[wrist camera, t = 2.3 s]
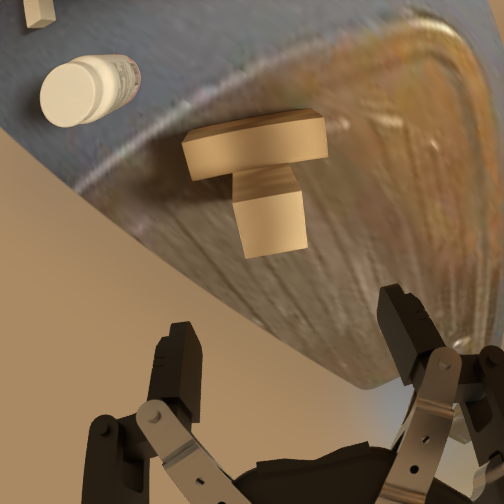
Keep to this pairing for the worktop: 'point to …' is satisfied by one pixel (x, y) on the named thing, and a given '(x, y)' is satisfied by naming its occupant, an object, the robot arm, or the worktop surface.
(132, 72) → the pill bottle
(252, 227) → the scraper
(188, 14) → the worktop surface
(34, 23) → the bay
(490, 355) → the robot arm
